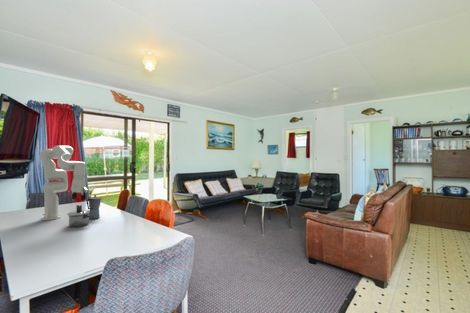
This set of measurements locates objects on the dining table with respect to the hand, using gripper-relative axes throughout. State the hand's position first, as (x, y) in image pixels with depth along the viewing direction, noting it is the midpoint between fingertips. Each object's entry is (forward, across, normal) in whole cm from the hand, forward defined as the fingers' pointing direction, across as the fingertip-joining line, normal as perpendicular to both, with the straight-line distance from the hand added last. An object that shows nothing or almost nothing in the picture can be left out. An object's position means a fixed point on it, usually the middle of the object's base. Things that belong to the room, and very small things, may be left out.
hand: (78, 199), depth 180 cm
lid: (+11, +1, 0) cm, 11 cm away
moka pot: (+21, -6, +19) cm, 29 cm away
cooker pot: (+20, +1, 0) cm, 20 cm away
